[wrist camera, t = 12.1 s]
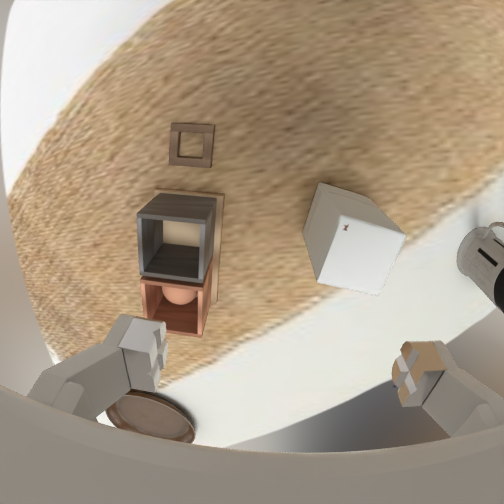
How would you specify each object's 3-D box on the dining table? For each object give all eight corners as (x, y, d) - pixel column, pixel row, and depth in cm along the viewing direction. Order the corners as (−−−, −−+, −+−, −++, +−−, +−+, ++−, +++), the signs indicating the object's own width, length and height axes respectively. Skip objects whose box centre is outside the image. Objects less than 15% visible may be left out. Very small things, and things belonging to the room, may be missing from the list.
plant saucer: (99, 409, 63) (95, 420, 60) (125, 370, 55) (120, 382, 52) (173, 446, 68) (171, 456, 65) (215, 415, 60) (213, 428, 57)
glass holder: (461, 284, 44) (507, 341, 31) (443, 212, 39) (504, 259, 26) (498, 260, 42) (549, 308, 28) (485, 187, 37) (551, 224, 23)
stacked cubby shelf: (156, 188, 40) (129, 210, 32) (224, 194, 40) (213, 218, 32) (158, 292, 47) (139, 329, 38) (217, 300, 47) (207, 340, 39)
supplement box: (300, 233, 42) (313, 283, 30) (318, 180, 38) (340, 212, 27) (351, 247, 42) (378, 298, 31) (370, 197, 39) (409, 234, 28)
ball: (169, 258, 43) (155, 275, 39) (203, 263, 43) (193, 282, 38) (169, 288, 45) (157, 307, 41) (202, 295, 45) (192, 315, 40)
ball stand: (173, 122, 36) (170, 123, 35) (214, 125, 36) (213, 125, 35) (170, 163, 38) (168, 165, 37) (211, 166, 38) (210, 167, 37)
